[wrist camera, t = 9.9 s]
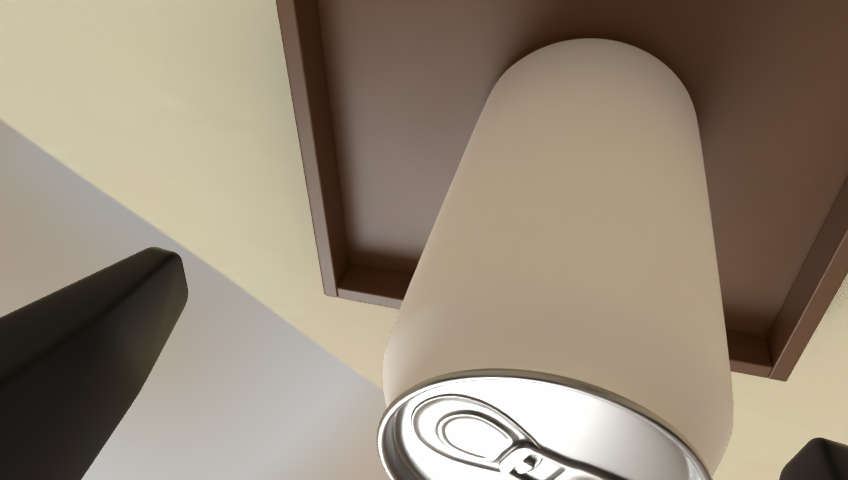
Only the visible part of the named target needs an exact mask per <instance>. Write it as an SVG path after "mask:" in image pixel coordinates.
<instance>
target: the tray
mask: <svg viewBox="0 0 848 480" xmlns="http://www.w3.org/2000/svg"><path fill="white" fill-rule="evenodd" d="M276 5H277V11H278V17H279V23H280V29H281V35H282V41H283V47H284V53H285V59H286V65H287V71H288V77H289V83H290V89H291V95H292V101H293V107H294V113H295V119H296V125H297V131H298V137H299V143H300V149H301V155H302V161H303V167H304V173H305V179H306V185H307V191H308V197H309V203H310V209H311V215H312V221H313V227H314V233H315V239H316V245H317V251H318V257H319V263H320V269H321V275H322V281H323V287H324V293H325V295H327V296H333V297H339V298H343V299H348V300H354V301H359V302H364V303H370V304H375V305H380V306H386V307H391V308H396V309H400V307H401V305H402V302H403V300H404V297H405V295H406V292H407V290H408V287H409V285H410V282H411V280H412V277H413V275H414V273H415V270H416V268H417V265H418V263H419V260H420V258H421V256H422V253H423V251H424V248H425V246H426V243H427V241H428V239H429V236H430V234H431V231H432V229H433V227H434V224H435V222H436V219H437V217H438V215H439V212H440V210H441V207H442V205H443V202H444V200H445V198H446V195H447V193H448V190H449V188H450V186H451V183H452V181H453V179H454V176H455V174H456V171H457V169H458V167H459V164H460V162H461V159H462V157H463V155H464V152H465V150H466V148H467V145H468V143H469V140H470V138H471V136H472V133H473V131H474V129H475V126H476V124H477V122H478V119H479V117H480V115H481V113H482V110H483V108H484V106H485V104H486V101H487V99H488V97H489V95H490V93H491V91H492V89H493V88H494V86H495V85H496V83H497V82H498V80H499V79H500V77H501V76H502V75H503V74H504V73H505V72H506V71H507V70H508V69H509V68H510V67H511V66H512V65H514V64H515V63H516V62H518V61H519V60H521V59H522V58H524V57H525V56H527V55H529V54H530V53H532V52H534V51H536V50H538V49H541V48H543V47H545V46H548V45H551V44H554V43H558V42H562V41H567V40H573V39H583V38H597V39H607V40H614V41H618V42H622V43H626V44H629V45H632V46H634V47H637V48H639V49H642V50H644V51H646V52H647V53H649V54H651V55H653V56H654V57H656V58H657V59H659V60H660V61H661V62H663V63H664V64H665V65H666V66H667V67H669V68H670V69H671V70H672V71H673V72H674V73H675V75H676V76H677V77H678V78H679V79H680V81H681V82H682V84H683V85H684V87H685V88H686V90H687V92H688V94H689V96H690V98H691V100H692V103H693V106H694V109H695V112H696V117H697V122H698V127H699V133H700V140H701V147H702V154H703V161H704V168H705V175H706V183H707V190H708V198H709V205H710V213H711V220H712V228H713V236H714V243H715V251H716V259H717V266H718V274H719V282H720V290H721V297H722V305H723V313H724V321H725V329H726V337H727V346H728V354H729V363H730V371H733V372H738V373H744V374H749V375H754V376H760V377H765V378H767V377H768V378H769V379H775V380H780V381H787V379H788V377H789V376H790V374H791V372H792V370H793V369H794V367H795V365H796V363H797V361H798V360H799V358H800V356H801V354H802V353H803V351H804V349H805V347H806V346H807V344H808V342H809V340H810V339H811V337H812V335H813V333H814V331H815V330H816V328H817V326H818V324H819V323H820V321H821V319H822V317H823V316H824V314H825V312H826V310H827V308H828V307H829V305H830V303H831V301H832V300H833V298H834V296H835V294H836V293H837V291H838V289H839V287H840V286H841V284H842V282H843V280H844V278H845V277H846V275H847V273H848V0H276Z"/></svg>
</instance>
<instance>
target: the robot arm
mask: <svg viewBox="0 0 848 480" xmlns="http://www.w3.org/2000/svg"><path fill="white" fill-rule="evenodd" d="M187 298H188V288H187V282H186V278H185V273H184V268H183V263H182V260H181V257H180V256H179V255H178V254H177V253H175V252H172V251H168V250H165V249H161V248H158V247H150V248H147V249H145V250H143V251H140V252H138V253H136V254H134V255H132V256H130V257H128V258H126V259H123V260H121V261H119V262H117V263H115V264H113V265H111V266H109V267H107V268H104V269H102V270H100V271H98V272H96V273H94V274H92V275H90V276H87V277H85V278H83V279H81V280H79V281H77V282H75V283H73V284H71V285H69V286H66V287H64V288H62V289H60V290H58V291H56V292H54V293H52V294H50V295H47V296H46V297H43V298H41V299H39V300H37V301H35V302H32V303H30V304H28V305H26V306H24V307H22V308H20V309H18V310H16V311H13V312H11V313H9V314H7V315H5V316H3V317H1V318H0V480H81V479H82V478H83V476H84V474H85V473H86V471H87V470H88V469H89V467H90V466H91V464H92V463H93V461H94V460H95V458H96V457H97V455H98V454H99V452H100V451H101V449H102V448H103V446H104V445H105V443H106V442H107V440H108V439H109V437H110V436H111V434H112V433H113V431H114V430H115V428H116V427H117V425H118V424H119V423H120V421H121V420H122V418H123V417H124V415H125V414H126V412H127V410H128V409H129V408H130V406H131V405H132V403H133V401H134V400H135V398H136V397H137V395H138V394H139V392H140V390H141V388H142V386H143V385H144V383H145V381H146V380H147V378H148V376H149V374H150V372H151V370H152V368H153V366H154V364H155V362H156V361H157V359H158V357H159V355H160V353H161V351H162V349H163V347H164V345H165V343H166V341H167V339H168V338H169V336H170V334H171V332H172V330H173V328H174V326H175V324H176V322H177V321H178V318H179V317H180V315H181V313H182V311H183V309H184V307H185V305H186V302H187ZM779 480H848V446H847V445H845V444H841V443H838V442H835V441H831V440H828V439H824V438H815V439H812V440H811V441H809V442H808V443H807V444H806V445H805V446H804V447H803V448H802V449H801V450H800V451H799V452H798V453H797V454H796V455H795V456H794V457H793V458H792V459H791V460H790V461H789V462H788V463H787V464H786V466H785V467H784V468H783V470H782V472H781V475H780V479H779Z"/></svg>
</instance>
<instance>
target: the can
mask: <svg viewBox="0 0 848 480" xmlns="http://www.w3.org/2000/svg"><path fill="white" fill-rule="evenodd" d="M383 388H384V395H385V402H386V408H387V409H386V410H385V412H384V414H383V416H382V418H381V420H380V423H379V426H378V430H377V449H378V453H379V457H380V460H381V463H382V465H383V467H384V469H385V471H386V473H387V475H388V476H389V478H390V479H391V480H713V479H712V477H713V475H714V473H715V471H716V469H717V467H718V465H719V464H720V462H721V460H722V458H723V455H724V453H725V451H726V448H727V446H728V443H729V440H730V437H731V433H732V427H733V393H732V381H731V371H730V363H729V354H728V346H727V337H726V329H725V321H724V313H723V305H722V297H721V290H720V282H719V274H718V266H717V259H716V251H715V243H714V236H713V228H712V220H711V213H710V205H709V198H708V190H707V183H706V175H705V168H704V161H703V154H702V147H701V140H700V133H699V127H698V122H697V117H696V112H695V109H694V106H693V103H692V100H691V98H690V96H689V94H688V92H687V90H686V88H685V87H684V85H683V84H682V82H681V81H680V79H679V78H678V77H677V76H676V75H675V73H674V72H673V71H672V70H671V69H670V68H669V67H667V66H666V65H665V64H664V63H663V62H661V61H660V60H659V59H657V58H656V57H654V56H653V55H651V54H649V53H647V52H646V51H644V50H642V49H639V48H637V47H634V46H632V45H629V44H626V43H622V42H618V41H614V40H607V39H597V38H583V39H573V40H567V41H562V42H558V43H554V44H551V45H548V46H545V47H543V48H541V49H538V50H536V51H534V52H532V53H530V54H529V55H527V56H525V57H524V58H522V59H521V60H519V61H518V62H516V63H515V64H514V65H512V66H511V67H510V68H509V69H508V70H507V71H506V72H505V73H504V74H503V75H502V76H501V77H500V79H499V80H498V82H497V83H496V85H495V86H494V88H493V89H492V91H491V93H490V95H489V97H488V99H487V101H486V104H485V106H484V108H483V110H482V113H481V115H480V117H479V119H478V122H477V124H476V126H475V129H474V131H473V133H472V136H471V138H470V140H469V143H468V145H467V148H466V150H465V152H464V155H463V157H462V159H461V162H460V164H459V167H458V169H457V171H456V174H455V176H454V179H453V181H452V183H451V186H450V188H449V190H448V193H447V195H446V198H445V200H444V202H443V205H442V207H441V210H440V212H439V215H438V217H437V219H436V222H435V224H434V227H433V229H432V231H431V234H430V236H429V239H428V241H427V243H426V246H425V248H424V251H423V253H422V256H421V258H420V260H419V263H418V265H417V268H416V270H415V273H414V275H413V277H412V280H411V282H410V285H409V287H408V290H407V292H406V295H405V297H404V300H403V302H402V305H401V307H400V310H399V312H398V315H397V317H396V320H395V323H394V326H393V328H392V331H391V334H390V336H389V339H388V343H387V346H386V350H385V354H384V359H383Z"/></svg>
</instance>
